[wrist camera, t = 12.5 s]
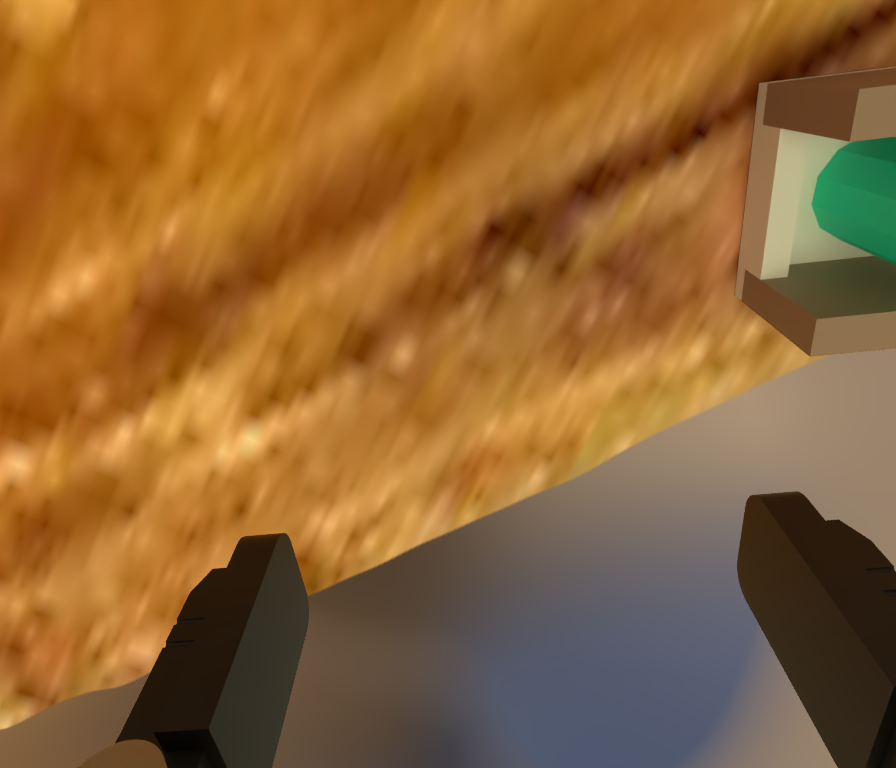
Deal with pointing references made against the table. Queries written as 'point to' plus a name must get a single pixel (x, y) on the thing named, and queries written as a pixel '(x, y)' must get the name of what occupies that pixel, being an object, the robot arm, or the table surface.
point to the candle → (860, 196)
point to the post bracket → (795, 225)
